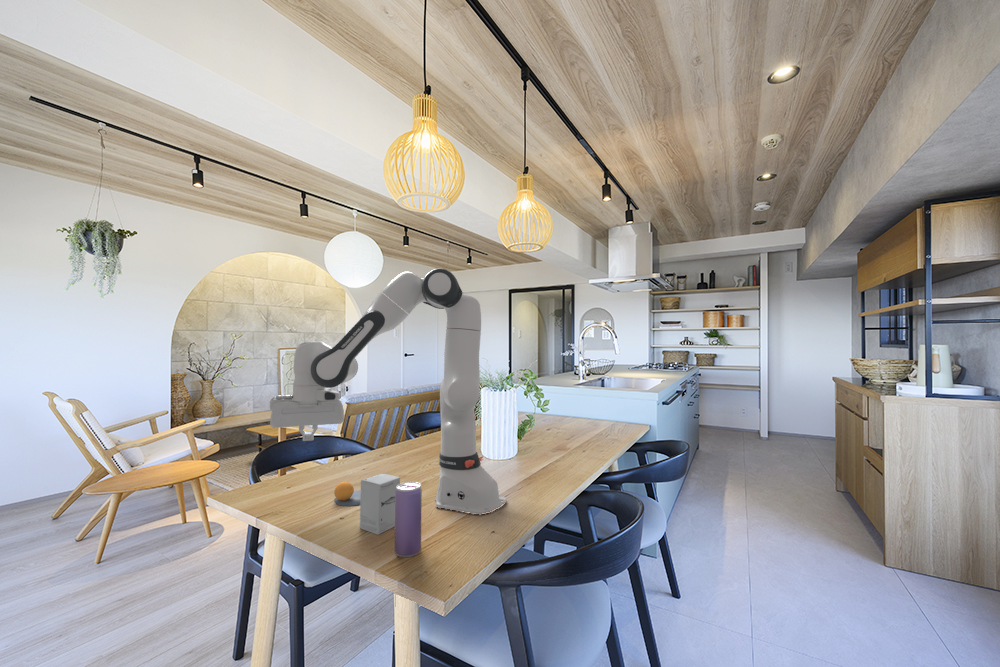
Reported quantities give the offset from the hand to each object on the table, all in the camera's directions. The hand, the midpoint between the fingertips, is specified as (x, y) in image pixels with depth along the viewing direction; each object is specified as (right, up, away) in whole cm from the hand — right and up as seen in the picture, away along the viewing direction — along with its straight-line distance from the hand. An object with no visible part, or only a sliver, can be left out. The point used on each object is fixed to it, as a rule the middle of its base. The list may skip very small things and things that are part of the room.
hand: (308, 440), depth 122 cm
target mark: (+13, -19, +5) cm, 24 cm away
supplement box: (+27, -19, -16) cm, 36 cm away
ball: (+10, -17, +3) cm, 19 cm away
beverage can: (+37, -18, -29) cm, 50 cm away
